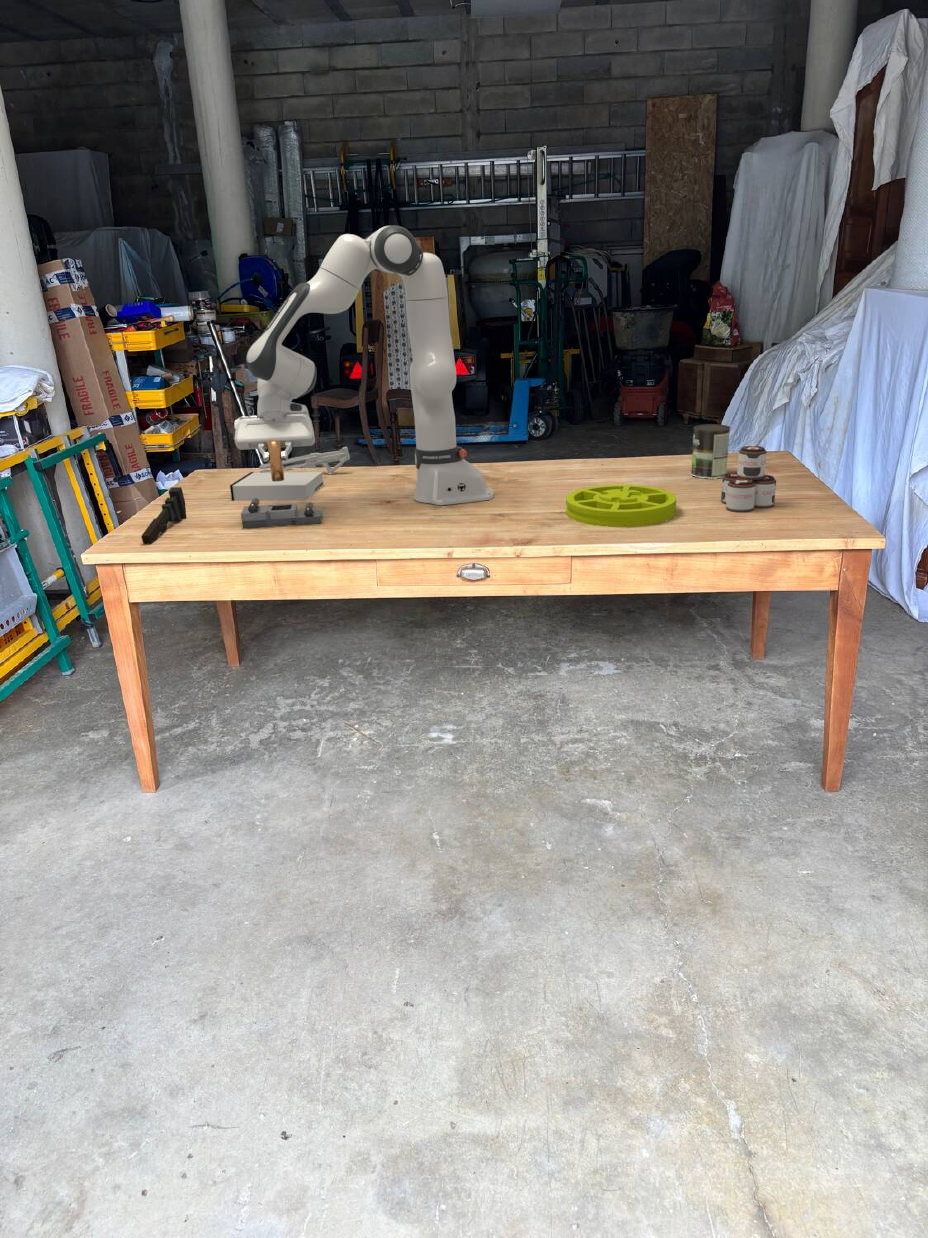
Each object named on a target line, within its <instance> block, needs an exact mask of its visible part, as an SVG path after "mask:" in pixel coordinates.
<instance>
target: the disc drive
mask: <svg viewBox="0 0 928 1238" xmlns="http://www.w3.org/2000/svg"><path fill="white" fill-rule="evenodd" d="M320 487H321V488H323V487H324V477H323V471H304V472H301V471H300V472H299V471H297V472H293V471H291V472H289V471H288V472H287V471H286V472H284V480H283V481H272V478H271V473H260V472H254V471H250V472H249V473H248V474H246V475H244V476H242V477H241V478H239V479H237V480H236V481H234V482H233V483H231V484H230V485H229V488H230V497H231V501H232V502H233V501H252V500H253V499H254V498H257V499H258V500H259V501H307V500H309V499H310V498H311V497H312V496H313V495H315V494H316V493H317V492H318V491H319V490H320V489H321V488H320ZM319 488H320V489H319ZM318 489H319V490H318ZM315 492H316V493H315ZM309 497H310V498H309ZM308 498H309V499H308Z"/></svg>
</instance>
